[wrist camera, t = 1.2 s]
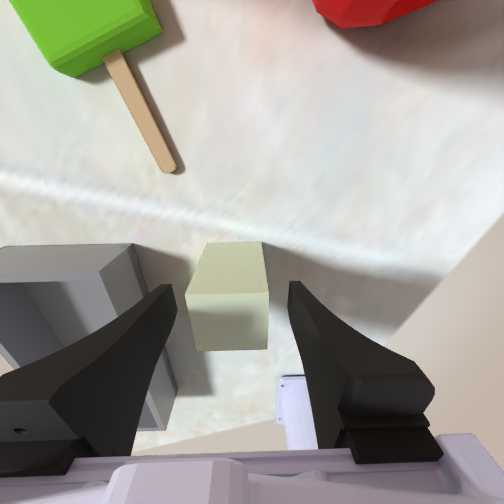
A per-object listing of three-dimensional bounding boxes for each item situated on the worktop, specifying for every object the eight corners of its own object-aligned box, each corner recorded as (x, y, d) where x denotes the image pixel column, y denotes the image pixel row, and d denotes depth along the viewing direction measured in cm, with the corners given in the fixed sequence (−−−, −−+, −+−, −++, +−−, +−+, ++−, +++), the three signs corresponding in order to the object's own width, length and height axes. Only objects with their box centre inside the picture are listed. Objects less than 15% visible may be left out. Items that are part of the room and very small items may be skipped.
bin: (177, 389, 23) (165, 430, 20) (96, 391, 23) (69, 433, 20) (132, 243, 15) (98, 271, 11) (5, 246, 15) (-69, 275, 11)
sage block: (260, 285, 17) (267, 349, 11) (212, 286, 17) (196, 351, 11) (261, 241, 15) (268, 292, 10) (207, 242, 15) (184, 294, 10)
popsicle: (13, -350, 6) (-74, -534, 5) (214, 155, 13) (209, 156, 11) (-110, -236, 7) (-223, -358, 5) (139, 185, 14) (123, 190, 12)
